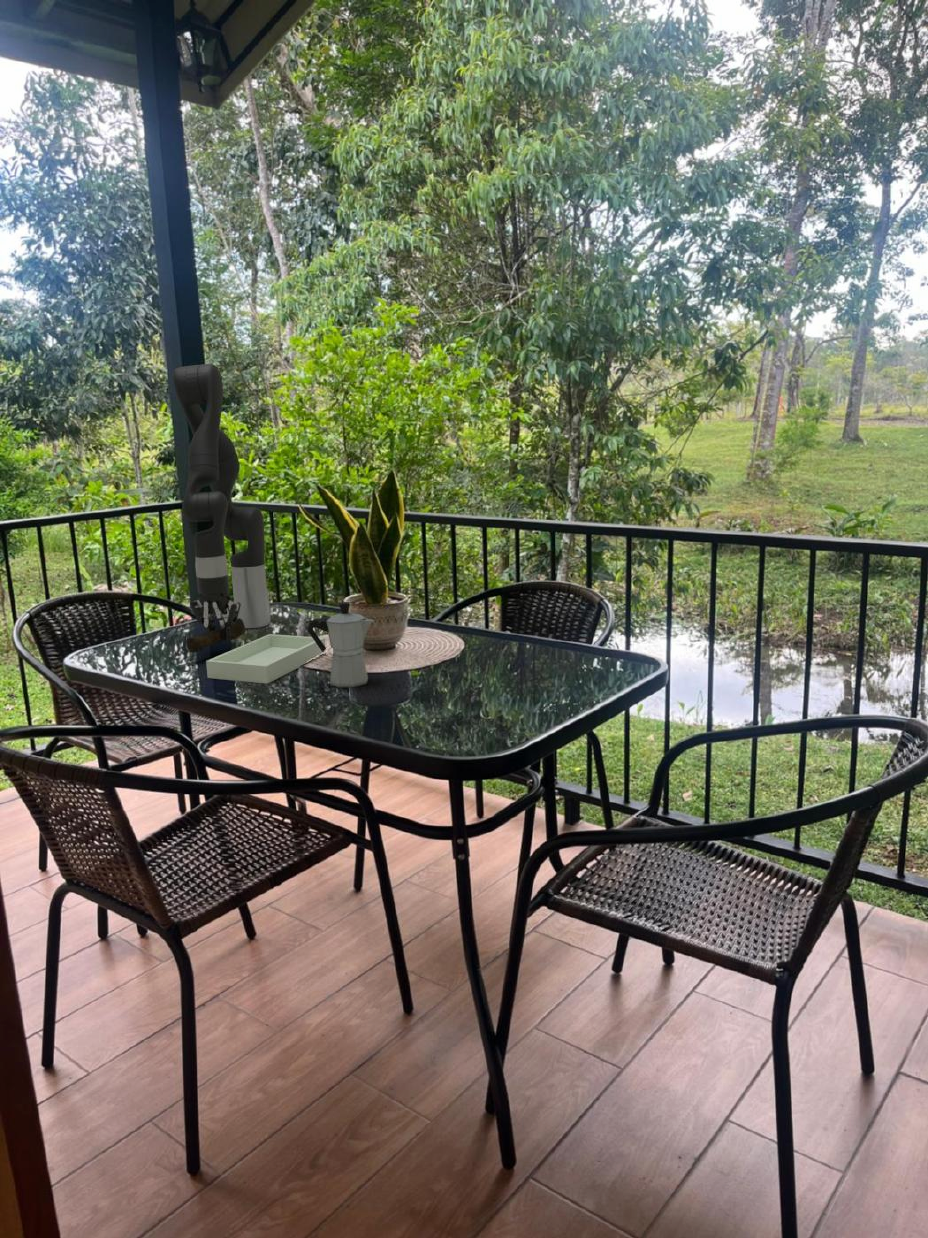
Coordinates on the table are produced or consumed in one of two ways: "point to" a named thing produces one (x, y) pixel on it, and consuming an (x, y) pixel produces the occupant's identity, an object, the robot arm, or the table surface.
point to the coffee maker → (344, 645)
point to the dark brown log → (214, 637)
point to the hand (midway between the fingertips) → (219, 641)
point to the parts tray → (264, 658)
